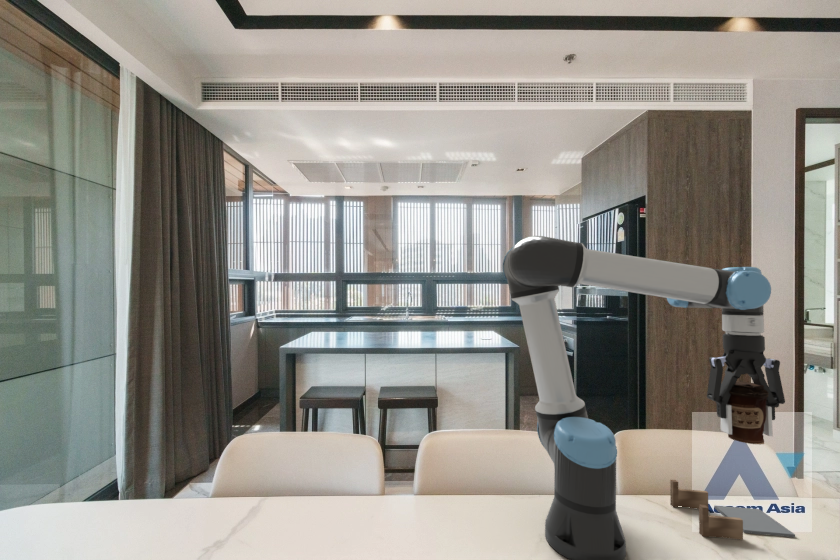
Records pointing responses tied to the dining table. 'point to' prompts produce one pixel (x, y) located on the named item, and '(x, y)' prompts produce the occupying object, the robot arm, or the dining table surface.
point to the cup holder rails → (706, 513)
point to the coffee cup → (748, 412)
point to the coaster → (755, 521)
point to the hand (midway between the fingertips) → (746, 433)
